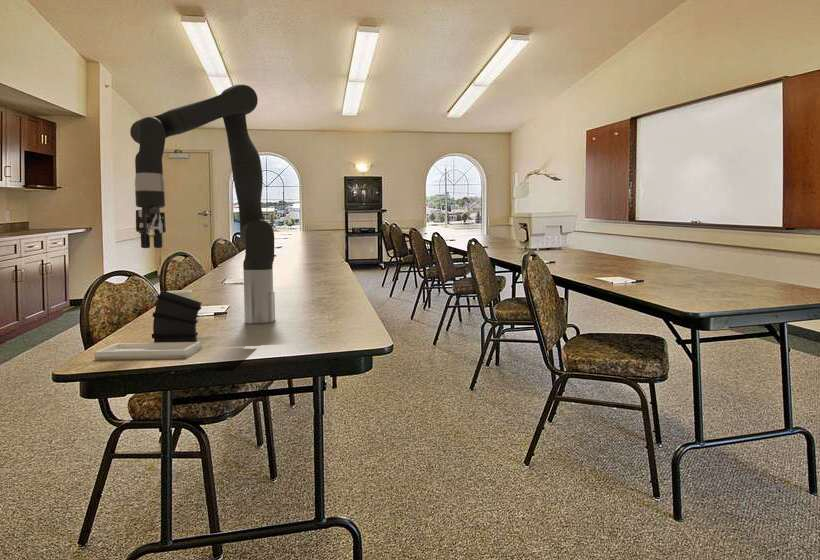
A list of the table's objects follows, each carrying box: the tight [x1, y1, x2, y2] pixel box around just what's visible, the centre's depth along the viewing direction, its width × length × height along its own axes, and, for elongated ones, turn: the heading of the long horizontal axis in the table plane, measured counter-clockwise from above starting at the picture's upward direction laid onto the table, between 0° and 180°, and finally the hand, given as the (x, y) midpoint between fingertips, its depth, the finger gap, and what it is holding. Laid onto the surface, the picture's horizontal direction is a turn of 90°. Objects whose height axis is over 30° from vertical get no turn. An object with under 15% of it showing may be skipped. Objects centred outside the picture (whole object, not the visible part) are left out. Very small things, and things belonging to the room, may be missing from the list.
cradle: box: [94, 341, 202, 361], centre depth 147 cm, size 22×12×2 cm, turn 94°
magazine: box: [151, 290, 202, 343], centre depth 159 cm, size 4×13×15 cm, turn 100°
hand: (152, 247), depth 162 cm, fingers open, 8 cm apart
